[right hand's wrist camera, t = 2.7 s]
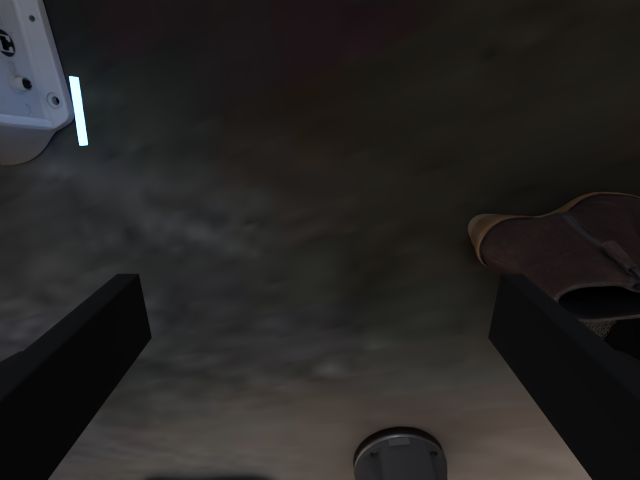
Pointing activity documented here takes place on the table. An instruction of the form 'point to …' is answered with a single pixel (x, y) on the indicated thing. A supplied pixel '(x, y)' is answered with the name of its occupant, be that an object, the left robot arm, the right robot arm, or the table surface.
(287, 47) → the table surface
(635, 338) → the handbag
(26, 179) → the table surface
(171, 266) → the table surface
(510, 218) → the boot
